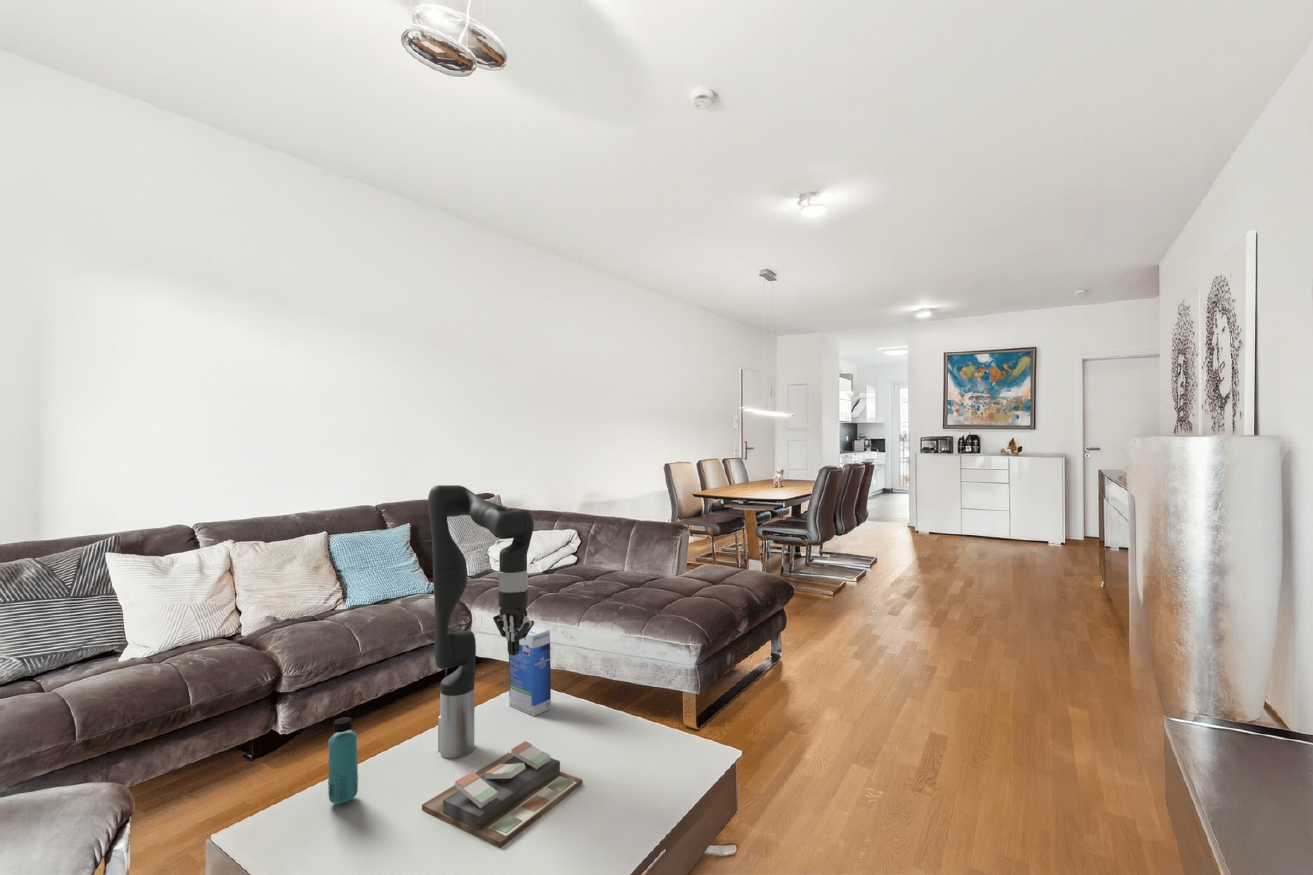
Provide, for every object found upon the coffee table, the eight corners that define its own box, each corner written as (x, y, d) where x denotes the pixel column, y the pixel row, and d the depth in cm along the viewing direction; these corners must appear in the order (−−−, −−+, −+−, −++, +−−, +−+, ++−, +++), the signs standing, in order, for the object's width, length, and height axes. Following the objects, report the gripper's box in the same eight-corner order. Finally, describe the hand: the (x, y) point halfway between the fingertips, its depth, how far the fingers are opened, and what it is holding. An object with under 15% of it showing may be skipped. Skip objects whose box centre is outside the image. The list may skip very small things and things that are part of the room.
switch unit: (421, 809, 141) (421, 787, 141) (508, 756, 165) (508, 737, 165) (500, 847, 128) (500, 823, 128) (582, 784, 152) (582, 763, 152)
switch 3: (510, 753, 154) (511, 748, 154) (524, 745, 159) (525, 740, 159) (536, 769, 150) (537, 764, 150) (549, 760, 154) (550, 755, 154)
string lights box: (551, 709, 195) (551, 629, 195) (533, 717, 189) (533, 635, 189) (525, 698, 203) (525, 622, 204) (507, 706, 197) (507, 628, 198)
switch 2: (485, 778, 146) (484, 773, 147) (500, 769, 151) (499, 763, 151) (510, 778, 142) (509, 772, 142) (525, 768, 146) (524, 762, 147)
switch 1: (454, 785, 139) (455, 780, 139) (471, 775, 143) (472, 770, 143) (480, 808, 134) (481, 803, 134) (497, 797, 139) (498, 791, 139)
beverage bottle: (364, 797, 147) (364, 715, 147) (342, 812, 140) (342, 727, 140) (343, 792, 149) (343, 711, 149) (321, 807, 142) (321, 723, 143)
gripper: (484, 587, 155) (484, 654, 155) (521, 593, 148) (521, 663, 148) (505, 581, 162) (505, 645, 162) (542, 587, 155) (542, 654, 155)
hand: (513, 654), depth 155 cm, fingers closed
